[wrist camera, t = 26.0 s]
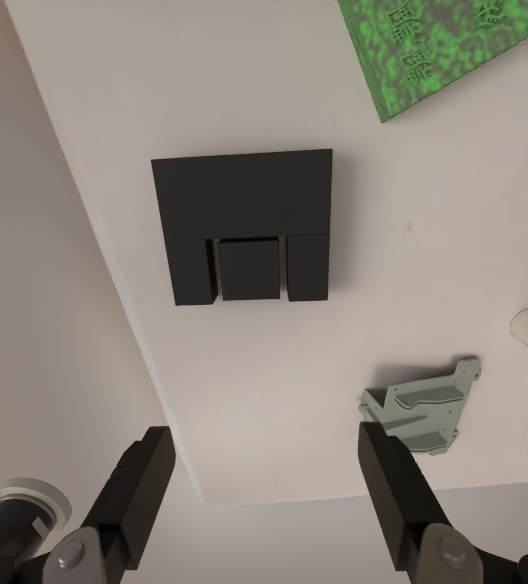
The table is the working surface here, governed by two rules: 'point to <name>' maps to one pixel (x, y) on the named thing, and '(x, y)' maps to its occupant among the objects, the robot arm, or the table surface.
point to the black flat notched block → (245, 216)
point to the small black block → (249, 268)
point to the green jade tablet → (427, 43)
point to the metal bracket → (424, 408)
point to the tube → (520, 327)
